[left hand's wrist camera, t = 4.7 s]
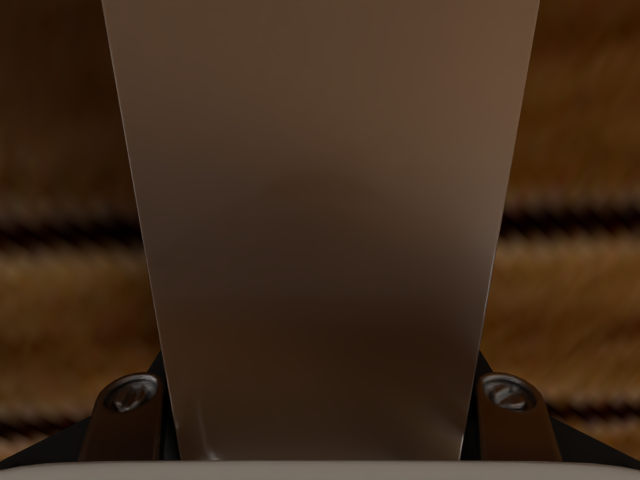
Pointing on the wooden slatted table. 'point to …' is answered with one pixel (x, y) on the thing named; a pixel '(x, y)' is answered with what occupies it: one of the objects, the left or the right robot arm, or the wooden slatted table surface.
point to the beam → (320, 213)
